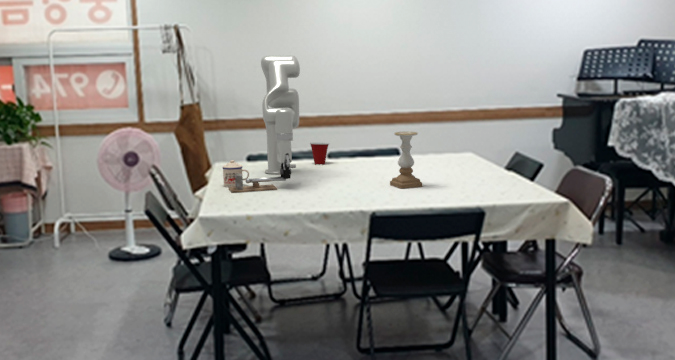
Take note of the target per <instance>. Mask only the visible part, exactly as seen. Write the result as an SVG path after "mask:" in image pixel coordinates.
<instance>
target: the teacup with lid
mask: <svg viewBox="0 0 675 360" xmlns="http://www.w3.org/2000/svg"><path fill="white" fill-rule="evenodd" d="M243 172H246V173H247V176H246V177H245V178H243V181H245V180H246V179H247V178H249V177H250V171H249V170H247V169H243V165H242V164H239V163H237V162H235V160H233V159H231V160H229V162H228V163H227V164H224V165H222V174H223V175H222V176H223V186H224V187H226V188H229V187H235V174H241V175H242V176H243Z"/></svg>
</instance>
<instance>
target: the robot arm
mask: <svg viewBox="0 0 675 360" xmlns="http://www.w3.org/2000/svg"><path fill="white" fill-rule="evenodd" d="M260 68H261V70H262V73H263V75H264V77H265V80H266V94H265V95H264V97H263V99H262V103H261V105H262V106H261V107H262V110H261V111H262V119H263V122H264V124H265V130H266V141H267V142H266V146H267V147H266V149H267V169H265V170H264V173H265V174H268V175H280V169H283V168H284V170H283V175H280V177H283V178H284V179H286V180H290V179H291V175H292V173H291V174H290V169H296V168H297V165H296V164H295V163H293V164H291V163H292V160H293V159H292V157H293V156H292V141H294V135H293V134H294V130H293V129H297V128H298V127H299V126H300V97H299V91H298V90H297V89H295V88H290V86H289V79H292V78H293V79H294V78H295V79H296V78H299V76H300V75H301V74H300V73H301V68H300V63H299V60H298V58H297V57H296V56H295V55H266V56H263V57H262V58H261V60H260Z"/></svg>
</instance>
